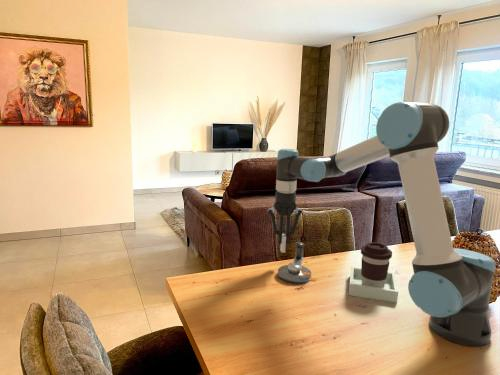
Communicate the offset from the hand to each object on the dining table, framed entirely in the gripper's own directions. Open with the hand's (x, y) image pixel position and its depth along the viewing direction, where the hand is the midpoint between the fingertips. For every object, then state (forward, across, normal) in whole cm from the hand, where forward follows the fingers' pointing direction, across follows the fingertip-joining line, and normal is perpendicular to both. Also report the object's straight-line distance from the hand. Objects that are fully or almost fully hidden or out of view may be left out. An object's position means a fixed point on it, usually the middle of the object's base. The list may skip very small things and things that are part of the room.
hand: (282, 251), depth 143 cm
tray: (+6, -29, +18) cm, 34 cm away
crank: (+4, -5, +5) cm, 8 cm away
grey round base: (+6, -3, +9) cm, 11 cm away
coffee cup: (+6, -29, +18) cm, 34 cm away
